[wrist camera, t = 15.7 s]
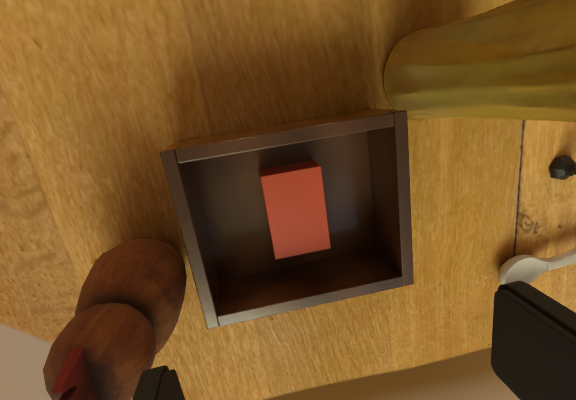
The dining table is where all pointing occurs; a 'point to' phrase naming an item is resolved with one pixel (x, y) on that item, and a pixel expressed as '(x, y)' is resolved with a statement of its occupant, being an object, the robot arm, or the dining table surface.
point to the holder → (254, 225)
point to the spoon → (532, 266)
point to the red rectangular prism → (295, 208)
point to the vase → (490, 65)
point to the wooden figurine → (118, 322)
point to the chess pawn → (562, 167)
